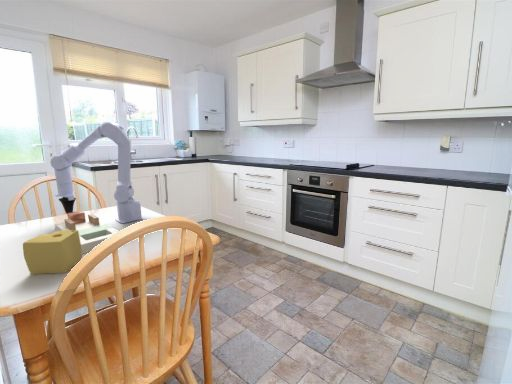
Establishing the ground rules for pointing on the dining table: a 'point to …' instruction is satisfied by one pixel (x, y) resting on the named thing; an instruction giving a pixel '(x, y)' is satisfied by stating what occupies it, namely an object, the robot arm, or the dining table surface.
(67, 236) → the cheese
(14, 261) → the dining table surface
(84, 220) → the block
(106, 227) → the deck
